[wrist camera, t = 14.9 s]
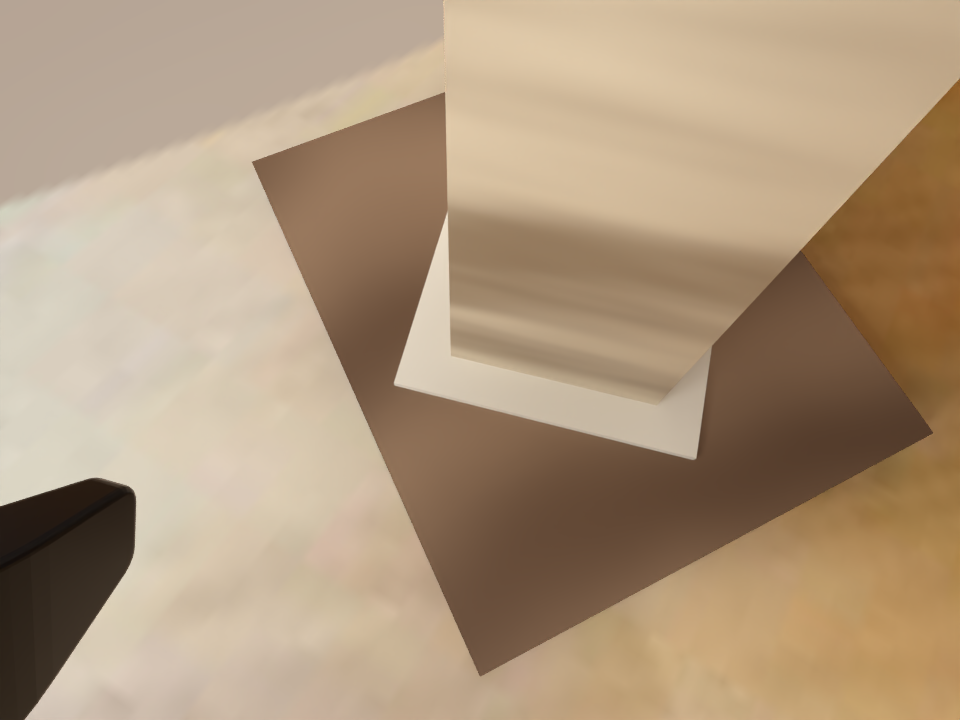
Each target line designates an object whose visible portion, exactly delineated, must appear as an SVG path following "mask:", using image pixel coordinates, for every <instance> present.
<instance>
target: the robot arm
mask: <svg viewBox="0 0 960 720" xmlns="http://www.w3.org/2000/svg"><path fill="white" fill-rule="evenodd" d="M135 522H136V496H135V493H134V491H133V489H131V488H130V487H129V486H127V485H123V484H120V483H116V482H113V481H109V480H106V479H102V478H90V479H86V480H83V481H80V482H77V483H74V484H70V485H67V486H64V487H61V488H58V489H54V490H51V491H48V492H45V493H42V494H38V495H35V496H32V497H29V498H26V499H22V500H19V501H16V502H13V503H10V504H6V505H3V506H0V720H25V718H26V717H27V716H28V714H29V713H30V712H31V711H32V709H33V708H34V707H35V706H36V704H37V703H38V702H39V700H40V699H41V697H42V696H43V694H44V693H45V692H46V690H47V689H48V687H49V686H50V685H51V683H52V682H53V680H54V679H55V677H56V676H57V674H58V673H59V671H60V670H61V668H62V667H63V665H64V664H65V662H66V661H67V659H68V658H69V656H70V655H71V653H72V652H73V650H74V649H75V647H76V646H77V644H78V643H79V642H80V640H81V639H82V637H83V636H84V634H85V633H86V631H87V630H88V628H89V627H90V625H91V624H92V622H93V621H94V619H95V618H96V616H97V615H98V613H99V612H100V610H101V609H102V607H103V606H104V604H105V603H106V601H107V600H108V598H109V597H110V595H111V594H112V592H113V591H114V589H115V588H116V586H117V585H118V583H119V582H120V580H121V579H122V577H123V576H124V574H125V573H126V571H127V569H128V567H129V565H130V563H131V560H132V558H133V554H134V548H135Z"/></svg>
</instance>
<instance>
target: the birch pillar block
mask: <svg viewBox="0 0 960 720" xmlns="http://www.w3.org/2000/svg"><path fill="white" fill-rule="evenodd" d="M443 4H444V5H443V9H444V56H445V104H446V152H447V200H448V248H449V296H450V344H451V356H453V357H458V358H462V359H466V360H470V361H474V362H478V363H482V364H487V365H491V366H495V367H499V368H503V369H507V370H512V371H516V372H520V373H524V374H528V375H532V376H536V377H541V378H545V379H549V380H553V381H557V382H561V383H566V384H570V385H574V386H578V387H582V388H586V389H590V390H595V391H599V392H603V393H607V394H611V395H615V396H620V397H624V398H628V399H632V400H636V401H640V402H644V403H649V404H653V405H658V403H659V402H660V401H661V400H662V399H663V398H664V397H665V396H666V395H667V394H668V393H669V392H670V391H671V389H672V388H673V387H674V386H675V385H676V384H677V383H678V382H679V381H680V380H681V379H682V378H683V376H684V375H685V374H686V373H687V372H688V371H689V370H690V369H691V368H692V367H693V366H694V365H695V364H696V362H697V361H698V360H699V359H700V358H701V357H702V356H703V355H704V354H705V353H706V352H707V351H708V350H709V348H710V347H711V346H712V345H713V344H714V343H715V342H716V341H717V340H718V339H719V338H720V337H721V335H722V334H723V333H724V332H725V331H726V330H727V329H728V328H729V327H730V326H731V325H732V324H733V323H734V321H735V320H736V319H737V318H738V317H739V316H740V315H741V314H742V313H743V312H744V311H745V310H746V309H747V307H748V306H749V305H750V304H751V303H752V302H753V301H754V300H755V299H756V298H757V297H758V296H759V294H760V293H761V292H762V291H763V290H764V289H765V288H766V287H767V286H768V285H769V284H770V283H771V282H772V280H773V279H774V278H775V277H776V276H777V275H778V274H779V273H780V272H781V271H782V270H783V269H784V268H785V266H786V265H787V264H788V263H789V262H790V261H791V260H792V259H793V258H794V257H795V256H796V255H797V253H798V252H799V251H800V250H801V249H802V248H803V247H804V246H805V245H806V244H807V243H808V242H809V241H810V239H811V238H812V237H813V236H814V235H815V234H816V233H817V232H818V231H819V230H820V229H821V228H822V227H823V225H824V224H825V223H826V222H827V221H828V220H829V219H830V218H831V217H832V216H833V215H834V214H835V212H836V211H837V210H838V209H839V208H840V207H841V206H842V205H843V204H844V203H845V202H846V201H847V200H848V198H849V197H850V196H851V195H852V194H853V193H854V192H855V191H856V190H857V189H858V188H859V187H860V186H861V184H862V183H863V182H864V181H865V180H866V179H867V178H868V177H869V176H870V175H871V174H872V173H873V171H874V170H875V169H876V168H877V167H878V166H879V165H880V164H881V163H882V162H883V161H884V160H885V159H886V157H887V156H888V155H889V154H890V153H891V152H892V151H893V150H894V149H895V148H896V147H897V146H898V145H899V143H900V142H901V141H902V140H903V139H904V138H905V137H906V136H907V135H908V134H909V133H910V132H911V130H912V129H913V128H914V127H915V126H916V125H917V124H918V123H919V122H920V121H921V120H922V119H923V118H924V116H925V115H926V114H927V113H928V112H929V111H930V110H931V109H932V108H933V107H934V106H935V105H936V104H937V102H938V101H939V100H940V99H941V98H942V97H943V96H944V95H945V94H946V93H947V92H948V91H949V89H950V88H951V87H952V86H953V85H954V84H955V83H956V82H957V81H958V80H959V79H960V0H443Z"/></svg>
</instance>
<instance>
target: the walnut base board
mask: <svg viewBox="0 0 960 720" xmlns="http://www.w3.org/2000/svg"><path fill="white" fill-rule="evenodd" d="M252 163H253V165H254V168H255V170H256V172H257V174H258V177H259V179H260V181H261V183H262V186H263V188H264V190H265V192H266V195H267V197H268V199H269V201H270V204H271V206H272V208H273V210H274V213H275V215H276V217H277V220H278V222H279V224H280V226H281V229H282V231H283V233H284V235H285V238H286V240H287V242H288V244H289V247H290V249H291V251H292V253H293V256H294V258H295V260H296V262H297V265H298V267H299V269H300V271H301V274H302V276H303V278H304V280H305V283H306V285H307V287H308V289H309V292H310V294H311V296H312V298H313V301H314V303H315V305H316V307H317V310H318V312H319V314H320V317H321V319H322V321H323V323H324V326H325V328H326V330H327V332H328V335H329V337H330V339H331V341H332V344H333V346H334V348H335V350H336V353H337V355H338V357H339V359H340V362H341V364H342V366H343V368H344V371H345V373H346V375H347V377H348V380H349V382H350V384H351V386H352V389H353V391H354V393H355V395H356V398H357V400H358V402H359V404H360V407H361V409H362V411H363V414H364V416H365V418H366V420H367V423H368V425H369V427H370V429H371V432H372V434H373V436H374V438H375V441H376V443H377V445H378V447H379V450H380V452H381V454H382V456H383V459H384V461H385V463H386V465H387V468H388V470H389V472H390V474H391V477H392V479H393V481H394V483H395V486H396V488H397V490H398V492H399V495H400V497H401V499H402V501H403V504H404V506H405V508H406V510H407V513H408V515H409V517H410V520H411V522H412V524H413V526H414V529H415V531H416V533H417V535H418V538H419V540H420V542H421V544H422V547H423V549H424V551H425V553H426V556H427V558H428V560H429V562H430V565H431V567H432V569H433V571H434V574H435V576H436V578H437V580H438V583H439V585H440V587H441V589H442V592H443V594H444V596H445V598H446V601H447V603H448V605H449V607H450V610H451V612H452V614H453V617H454V619H455V621H456V623H457V626H458V628H459V630H460V632H461V635H462V637H463V639H464V641H465V644H466V646H467V648H468V650H469V653H470V655H471V657H472V659H473V662H474V664H475V666H476V668H477V671H478V673H479V675H480V676H482V675H484V674H486V673H488V672H489V671H491V670H493V669H495V668H497V667H499V666H501V665H502V664H504V663H506V662H508V661H510V660H512V659H514V658H515V657H517V656H519V655H521V654H523V653H525V652H527V651H528V650H530V649H532V648H534V647H536V646H538V645H540V644H542V643H543V642H545V641H547V640H549V639H551V638H553V637H555V636H556V635H558V634H560V633H562V632H564V631H566V630H568V629H569V628H571V627H573V626H575V625H577V624H579V623H581V622H582V621H584V620H586V619H588V618H590V617H592V616H594V615H596V614H597V613H599V612H601V611H603V610H605V609H607V608H609V607H610V606H612V605H614V604H616V603H618V602H620V601H622V600H623V599H625V598H627V597H629V596H631V595H633V594H635V593H636V592H638V591H640V590H642V589H644V588H646V587H648V586H650V585H651V584H653V583H655V582H657V581H659V580H661V579H663V578H664V577H666V576H668V575H670V574H672V573H674V572H676V571H677V570H679V569H681V568H683V567H685V566H687V565H689V564H691V563H692V562H694V561H696V560H698V559H700V558H702V557H704V556H705V555H707V554H709V553H711V552H713V551H715V550H717V549H718V548H720V547H722V546H724V545H726V544H728V543H730V542H731V541H733V540H735V539H737V538H739V537H741V536H743V535H745V534H746V533H748V532H750V531H752V530H754V529H756V528H758V527H759V526H761V525H763V524H765V523H767V522H769V521H771V520H772V519H774V518H776V517H778V516H780V515H782V514H784V513H785V512H787V511H789V510H791V509H793V508H795V507H797V506H799V505H800V504H802V503H804V502H806V501H808V500H810V499H812V498H813V497H815V496H817V495H819V494H821V493H823V492H825V491H826V490H828V489H830V488H832V487H834V486H836V485H838V484H839V483H841V482H843V481H845V480H847V479H849V478H851V477H853V476H854V475H856V474H858V473H860V472H862V471H864V470H866V469H867V468H869V467H871V466H873V465H875V464H877V463H879V462H880V461H882V460H884V459H886V458H888V457H890V456H892V455H894V454H895V453H897V452H899V451H901V450H903V449H905V448H907V447H908V446H910V445H912V444H914V443H916V442H918V441H920V440H921V439H923V438H925V437H927V436H929V435H931V434H933V432H932V430H931V429H930V428H929V426H928V425H927V424H926V422H925V421H924V419H923V418H922V417H921V415H920V414H919V413H918V411H917V410H916V408H915V407H914V406H913V404H912V403H911V402H910V400H909V399H908V397H907V396H906V395H905V393H904V392H903V391H902V389H901V388H900V386H899V385H898V384H897V382H896V381H895V380H894V378H893V377H892V375H891V374H890V373H889V371H888V370H887V369H886V367H885V366H884V364H883V363H882V362H881V360H880V359H879V358H878V356H877V355H876V353H875V352H874V351H873V349H872V348H871V347H870V345H869V344H868V342H867V341H866V340H865V338H864V337H863V336H862V334H861V333H860V331H859V330H858V329H857V327H856V326H855V325H854V323H853V322H852V320H851V319H850V318H849V316H848V315H847V314H846V312H845V311H844V309H843V308H842V307H841V305H840V304H839V303H838V301H837V300H836V299H835V297H834V296H833V294H832V293H831V292H830V290H829V289H828V288H827V286H826V285H825V283H824V282H823V281H822V279H821V278H820V277H819V275H818V274H817V272H816V271H815V270H814V268H813V267H812V266H811V264H810V263H809V261H808V260H807V259H806V257H805V256H804V255H803V253H802V252H801V250H800V251H799V252H798V253H797V255H796V256H795V257H794V258H793V259H792V260H791V261H790V262H789V263H788V264H787V265H786V266H785V268H784V269H783V270H782V271H781V272H780V273H779V274H778V275H777V276H776V277H775V278H774V279H773V280H772V282H771V283H770V284H769V285H768V286H767V287H766V288H765V289H764V290H763V291H762V292H761V293H760V294H759V296H758V297H757V298H756V299H755V300H754V301H753V302H752V303H751V304H750V305H749V306H748V307H747V309H746V310H745V311H744V312H743V313H742V314H741V315H740V316H739V317H738V318H737V319H736V320H735V321H734V323H733V324H732V325H731V326H730V327H729V328H728V329H727V330H726V331H725V332H724V333H723V334H722V335H721V337H720V338H719V339H718V340H717V341H716V342H715V343H714V344H713V345H712V346H711V347H710V348H709V350H708V351H707V352H706V353H705V354H704V355H703V356H702V357H701V358H700V359H699V360H698V361H697V362H696V364H695V365H694V366H693V367H692V368H691V369H690V370H689V371H688V372H687V373H686V374H685V375H684V376H683V378H682V379H681V380H680V381H679V382H678V383H677V384H676V385H675V386H674V387H673V388H672V389H671V391H670V392H669V393H668V394H667V395H666V396H665V397H664V398H663V399H662V400H661V401H660V402H659V403H658V405H653V404H649V403H644V402H640V401H636V400H632V399H628V398H624V397H620V396H615V395H611V394H607V393H603V392H599V391H595V390H590V389H586V388H582V387H578V386H574V385H570V384H566V383H561V382H557V381H553V380H549V379H545V378H541V377H536V376H532V375H528V374H524V373H520V372H516V371H512V370H507V369H503V368H499V367H495V366H491V365H487V364H482V363H478V362H474V361H470V360H466V359H462V358H458V357H453V356H451V344H450V296H449V248H448V200H447V152H446V104H445V92H444V93H442V94H439V95H436V96H433V97H431V98H428V99H425V100H422V101H419V102H417V103H414V104H411V105H408V106H406V107H403V108H400V109H397V110H395V111H392V112H389V113H386V114H383V115H381V116H378V117H375V118H372V119H370V120H367V121H364V122H361V123H359V124H356V125H353V126H350V127H347V128H345V129H342V130H339V131H336V132H334V133H331V134H328V135H325V136H322V137H320V138H317V139H314V140H311V141H309V142H306V143H303V144H300V145H298V146H295V147H292V148H289V149H286V150H284V151H281V152H278V153H275V154H273V155H270V156H267V157H264V158H262V159H259V160H256V161H253V162H252Z"/></svg>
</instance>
